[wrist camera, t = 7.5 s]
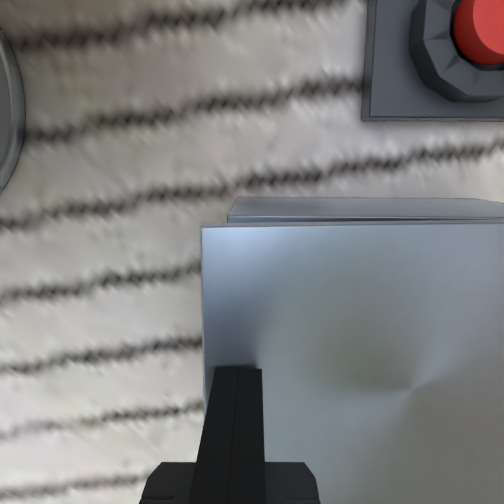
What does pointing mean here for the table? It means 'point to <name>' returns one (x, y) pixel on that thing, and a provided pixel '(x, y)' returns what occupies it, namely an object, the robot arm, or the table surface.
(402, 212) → the tin
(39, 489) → the table surface
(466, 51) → the button
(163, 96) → the table surface
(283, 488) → the robot arm
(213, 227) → the lid
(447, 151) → the table surface
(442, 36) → the button base
